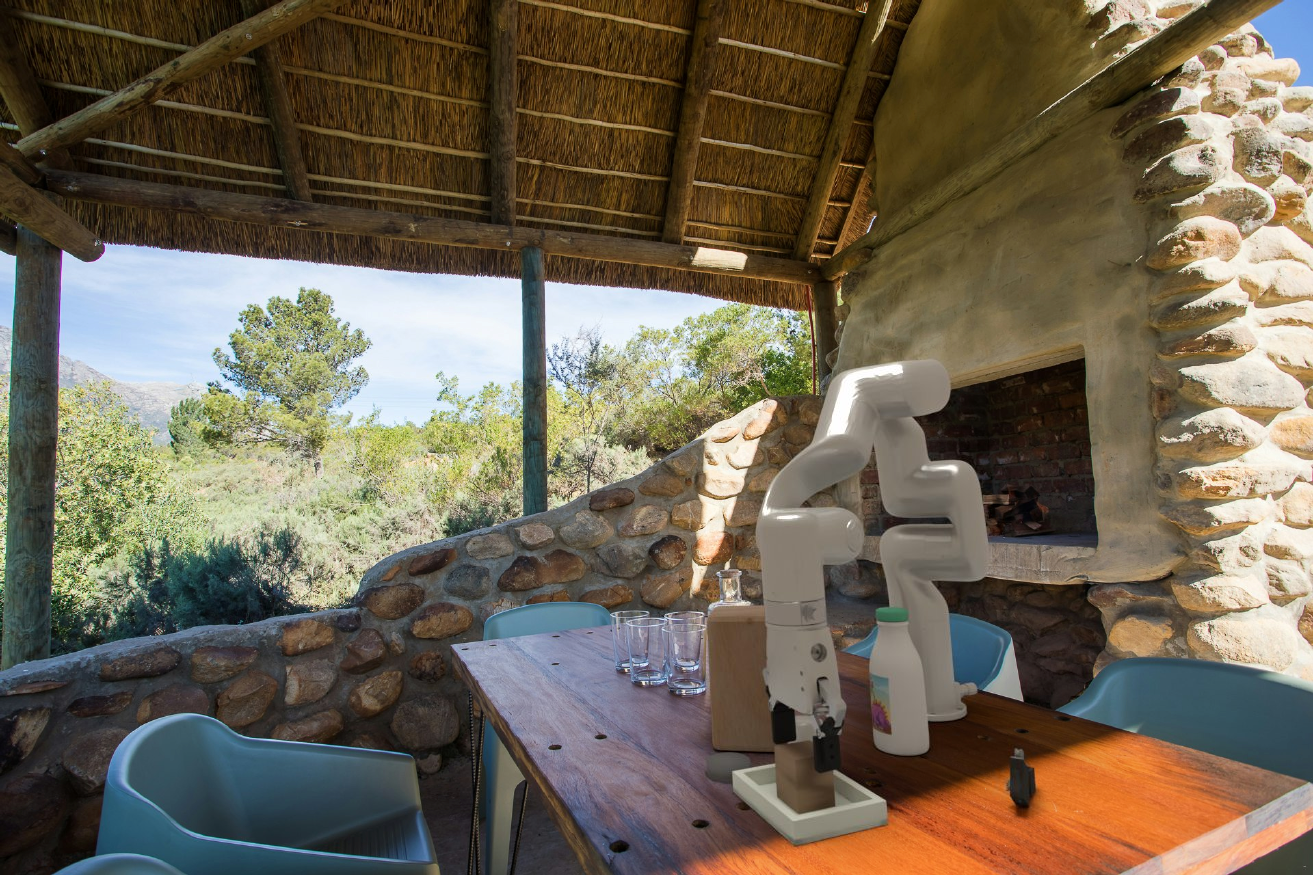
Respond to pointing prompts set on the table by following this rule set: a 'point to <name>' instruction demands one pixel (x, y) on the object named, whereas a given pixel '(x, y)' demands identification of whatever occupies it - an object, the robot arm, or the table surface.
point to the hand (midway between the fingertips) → (805, 755)
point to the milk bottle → (897, 687)
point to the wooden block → (739, 679)
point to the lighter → (1020, 780)
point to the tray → (848, 815)
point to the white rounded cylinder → (804, 729)
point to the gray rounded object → (726, 766)
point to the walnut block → (802, 779)
